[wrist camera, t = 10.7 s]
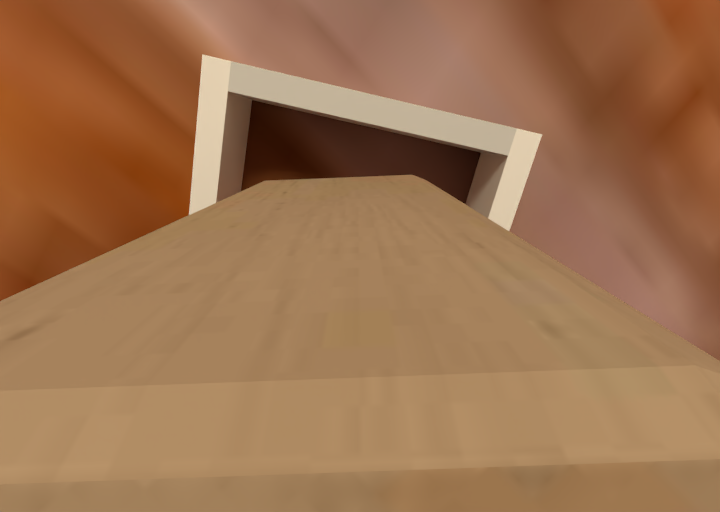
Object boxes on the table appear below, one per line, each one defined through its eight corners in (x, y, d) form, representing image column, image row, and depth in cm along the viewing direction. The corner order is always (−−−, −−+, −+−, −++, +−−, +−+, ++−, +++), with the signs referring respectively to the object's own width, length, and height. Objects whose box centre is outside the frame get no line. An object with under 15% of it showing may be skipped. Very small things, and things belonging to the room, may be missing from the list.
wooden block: (270, 336, 24) (-41, 1040, 5) (251, 179, 22) (-593, 507, 2) (425, 330, 24) (668, 1023, 5) (427, 172, 21) (998, 452, 2)
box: (205, 326, 30) (176, 361, 25) (232, 70, 25) (202, 54, 20) (434, 368, 32) (448, 410, 27) (508, 135, 26) (542, 134, 21)
